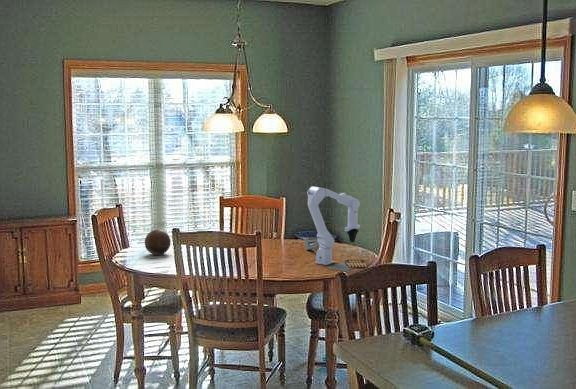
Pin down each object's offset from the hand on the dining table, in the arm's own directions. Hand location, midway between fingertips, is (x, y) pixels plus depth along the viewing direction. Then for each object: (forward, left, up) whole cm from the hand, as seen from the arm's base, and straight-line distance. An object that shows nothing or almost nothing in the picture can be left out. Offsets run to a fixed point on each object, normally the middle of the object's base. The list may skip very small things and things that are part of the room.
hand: (352, 241), depth 382 cm
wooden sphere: (-58, +99, -11) cm, 115 cm away
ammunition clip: (-9, -6, -9) cm, 14 cm away
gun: (+3, +29, -11) cm, 31 cm away
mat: (-20, -6, -10) cm, 23 cm away
